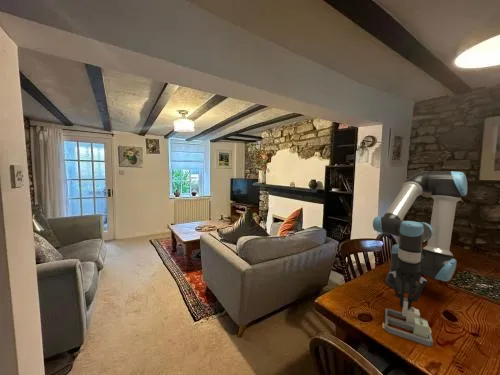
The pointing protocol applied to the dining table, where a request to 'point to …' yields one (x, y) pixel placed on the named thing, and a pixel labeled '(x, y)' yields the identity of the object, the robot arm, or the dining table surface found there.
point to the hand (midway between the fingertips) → (404, 314)
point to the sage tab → (420, 328)
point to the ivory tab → (412, 315)
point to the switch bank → (406, 326)
